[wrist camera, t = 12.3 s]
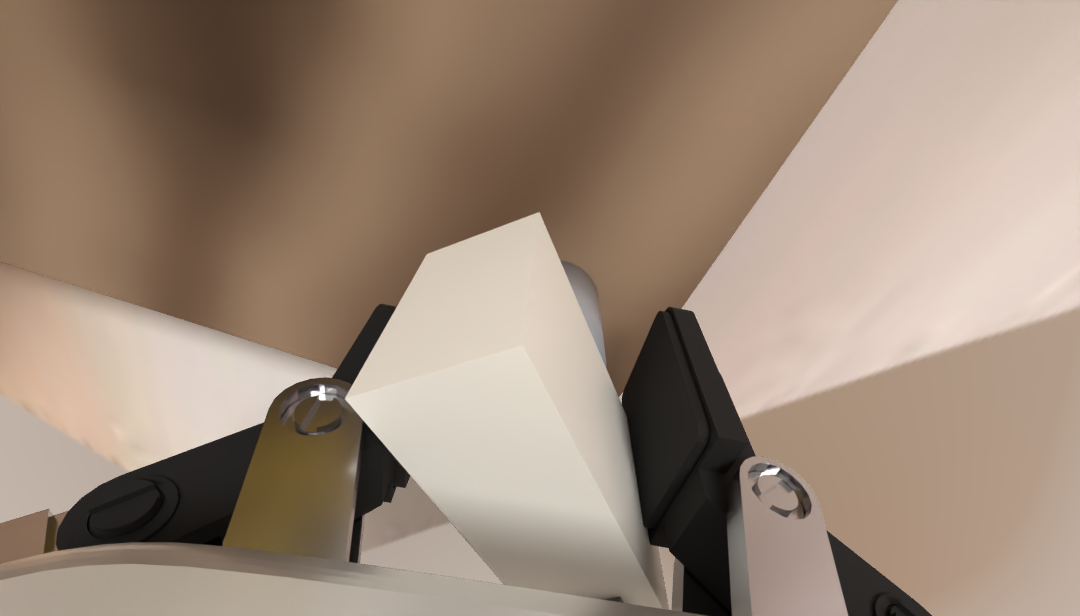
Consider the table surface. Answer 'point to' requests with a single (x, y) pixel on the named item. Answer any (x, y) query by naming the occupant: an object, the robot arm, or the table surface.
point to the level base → (396, 146)
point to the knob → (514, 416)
